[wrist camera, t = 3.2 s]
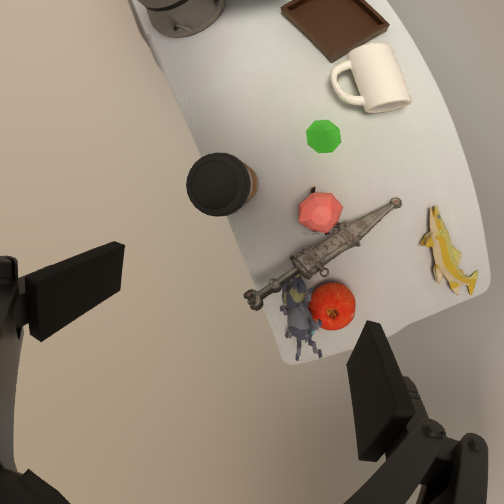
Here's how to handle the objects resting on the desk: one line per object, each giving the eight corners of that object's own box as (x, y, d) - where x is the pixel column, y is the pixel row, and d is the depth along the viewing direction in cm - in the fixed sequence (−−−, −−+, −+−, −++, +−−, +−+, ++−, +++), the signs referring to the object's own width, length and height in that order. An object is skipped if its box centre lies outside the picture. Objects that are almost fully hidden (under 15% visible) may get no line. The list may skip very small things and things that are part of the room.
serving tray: (281, 14, 42) (280, 7, 39) (336, -15, 38) (337, -23, 35) (331, 63, 43) (332, 57, 40) (386, 31, 39) (389, 24, 37)
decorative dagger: (385, 196, 50) (239, 290, 47) (384, 185, 48) (233, 281, 45) (414, 217, 44) (260, 323, 42) (415, 206, 43) (254, 315, 40)
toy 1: (283, 280, 57) (302, 358, 52) (264, 283, 56) (282, 363, 51) (316, 251, 44) (342, 352, 39) (292, 254, 43) (318, 360, 38)
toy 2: (442, 311, 49) (477, 284, 48) (451, 317, 46) (486, 287, 45) (407, 219, 47) (446, 193, 46) (416, 220, 43) (456, 193, 42)
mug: (385, 58, 41) (396, 40, 33) (403, 109, 43) (419, 98, 35) (321, 67, 44) (323, 49, 36) (339, 120, 45) (344, 109, 38)
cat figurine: (304, 233, 51) (303, 248, 39) (290, 194, 49) (285, 198, 38) (344, 219, 49) (355, 231, 37) (331, 180, 48) (338, 180, 36)
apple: (357, 280, 51) (365, 297, 43) (346, 321, 53) (351, 343, 45) (313, 272, 52) (313, 288, 44) (304, 314, 54) (302, 335, 46)
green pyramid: (311, 114, 46) (311, 106, 40) (345, 125, 45) (350, 118, 40) (301, 147, 48) (300, 143, 42) (335, 159, 47) (339, 156, 41)
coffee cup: (275, 183, 50) (261, 184, 35) (240, 217, 52) (214, 232, 38) (240, 148, 49) (213, 137, 35) (206, 183, 52) (169, 185, 37)
